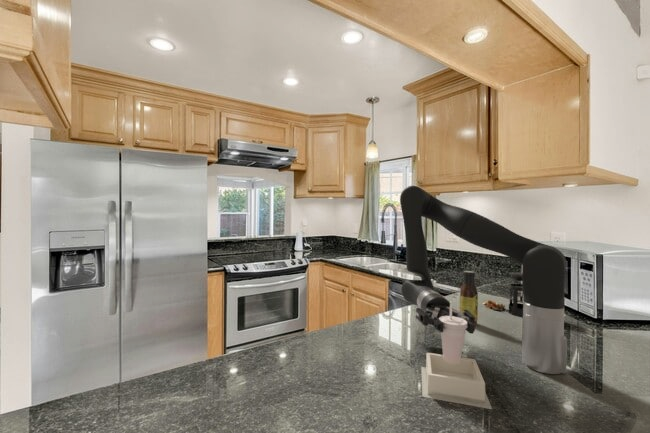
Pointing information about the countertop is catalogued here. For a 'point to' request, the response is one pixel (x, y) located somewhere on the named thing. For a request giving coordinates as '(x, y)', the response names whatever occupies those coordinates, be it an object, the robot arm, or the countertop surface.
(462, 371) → the cream open box
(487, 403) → the mat
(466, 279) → the sauce bottle
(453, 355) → the smoothie
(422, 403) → the countertop surface
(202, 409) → the countertop surface
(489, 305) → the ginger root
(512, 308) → the french press
